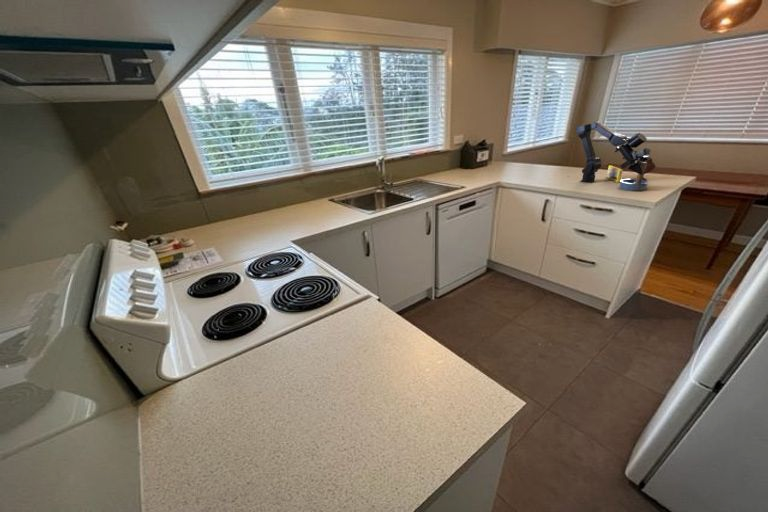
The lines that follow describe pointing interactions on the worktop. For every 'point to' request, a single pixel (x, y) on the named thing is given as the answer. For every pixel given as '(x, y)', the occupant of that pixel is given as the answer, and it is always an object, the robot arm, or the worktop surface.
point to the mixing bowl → (632, 185)
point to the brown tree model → (649, 167)
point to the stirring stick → (639, 177)
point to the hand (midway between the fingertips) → (643, 173)
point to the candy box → (614, 173)
